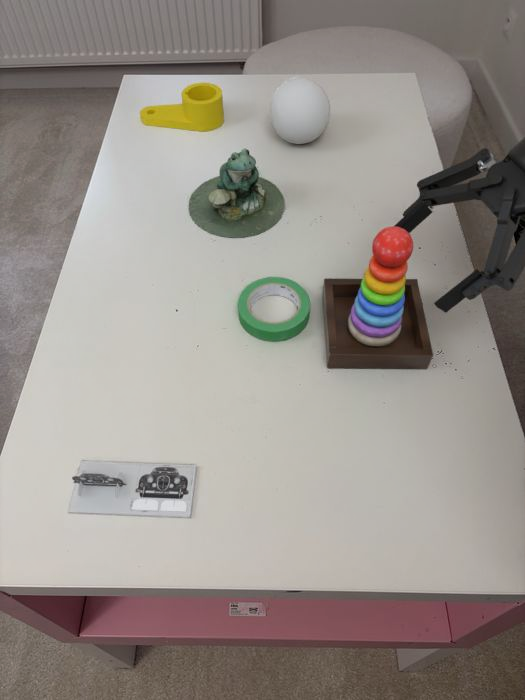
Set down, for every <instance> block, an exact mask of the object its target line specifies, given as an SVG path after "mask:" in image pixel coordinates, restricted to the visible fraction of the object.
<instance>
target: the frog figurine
mask: <svg viewBox="0 0 525 700" xmlns="http://www.w3.org/2000/svg"><path fill="white" fill-rule="evenodd" d="M256 164H257V161H256V158H255V157H254V156H252V155H251V154H250V150H249V149H247V148H246V147H245V148H242V149H241V150H240V152H237V151H234V152H232V153H231V154H230V157H229V158H227V161H226V162H225V163H223V164H221V166H220V168H219V175H217V176H215V177H213V178H210V179H208V180H207V181H203V183H201V184H200V185H198V187H196V189H195V190H194V191H193V192H192V193H191V195H190V197H189V199H188V213H189V216H190V218H191V219H192V221H193V222H194V224H196V225H197V227H199V228H200V229H202V230H203V231H205V232H207V233H209V234H212V235H215V236H218V237H221V238H222V237H223V238H229V239H241V238H249V237H253V236H257V235H259V234H262V233H264V232H266V231H268V230H269V229H271V228H272V227H274V226H275V225H276V224H277V223H278V222H279V221H280V220H281V218H282V216H283V214H284V213H285V212H284V211H285V207H286V202H285V198H284V194H283V193H282V192H281V190H280V189H279V188H278V187H277V186H276V185H275V184H274V183H273V182H271V181H270V180H268V179H266V178H265V177H262V176H260V171H259V170H258V167H257V166H256Z"/></svg>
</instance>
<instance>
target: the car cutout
mask: <svg viewBox="0 0 525 700" xmlns="http://www.w3.org/2000/svg"><path fill="white" fill-rule="evenodd" d="M79 462H80V463H79V466H78V471H77V473H76V474H77V475H74V476H72V477H71V479H72V480H73V484H74V486H73V490H72V494H71V498H70V502H69V505H68V509H67V513H68V514H74V515H75V514H77V515H99V516H100V515H101V516H102V515H104V516H125V517H126V516H127V517H149V518H150V517H151V518H171V519H172V518H173V519H174V518H176V519H191V518H192V511H193V510H192V509H193V501H194V494H195V486H196V478H197V469H198V466H197V464H179V463H178V464H177V463H152V462H150V463H149V462H124V461H120V462H119V461H98V460H80V461H79Z"/></svg>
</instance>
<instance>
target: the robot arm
mask: <svg viewBox="0 0 525 700" xmlns="http://www.w3.org/2000/svg"><path fill="white" fill-rule="evenodd" d="M482 173H485V174H486V175H485V177H481V178H476V179H472V178H474V177H476V176H479V175H480V174H482ZM469 179H472V180H469ZM467 180H469V181H468V182H466V183H461V182H464V181H467ZM459 183H461V184H459ZM416 187H417V188H418V192H419V196H418V198H417V199H416V200H415V201H414V202H412V203H411V205H410V206H409V207H408V208H406V209H405V210H404V211H403V213H402V216H403V217H402V218H401V219H400V220H399V221H397V222H396V223H395V224H394V225H393V226H396V227H400V228H403V229H405V230H406V231H407V232H408V233H409V234H410V233H411V232H412V231H413V230H415V229H416V228H417V227H418V226H419V225H421V223H423V222H424V221H425V220H426V219H427V218H429V216H430V215H432V214H433V209H434V207H437V206H443V205H448V204H449V205H450V204H455V203H460V202H468V201H473V200H476V201H481V202H482V203H483V204H484V205H485V206H486V207H487V208H488V209H489V210H490V212H491V213H492V214H493V215H494V216H495V217H496V218H497V219H496V224H497V225H496V228H495V232H494V235H493V238H492V242H491V245H490V249H489V250H488V251H489V252H488V255H487V259H486V261H485V266H484V269H483V270H479V269H478V268H476V269H475V270H473V271H472V272H471V273H470V274H468V275H467V276H466V277H464V278H463V280H461V281H460V282H458V283H457V284H456V285H454V287H452V288H451V289H449V291H447V292H446V293H444V295H442V296H441V297H439V299H437V300H436V301H434V302H433V304H434V306H435V307H436V308H437V309H439V310H440V311H441V312H443V313H448V312H449V311H451V310H452V309H453V308H454V307H456V306H457V305H458V304H459V303H461V302H462V301H464V300H465V299H467V300H468V301H471V300H474V299H476V298H477V297H478V296H480V295H481V294H482V293H484V292H485V291H486V290H487V289H489V288H490V287H492V286H497V287H499V288H500V289H503V290H505V291H508V292H509V291H511V290H513V288H514V286H515V285H516V283H517V282H518V280H519V278H520V276H521V274H522V273H523V271H524V269H525V229H524V230H523V231H522V233H521V235H520V237H519V238H518V240H517V242H516V244H515V245H514V247H513V249H512V250H511V252H510V254H509V251H510V248H511V244H512V241H513V238H514V234H515V232H516V231H517V230H518V226H519V223H520V220H521V217H525V136H524V137H523V138H522V139H521V140H520V141H519V142H517V143H516V144H515V145H514V146H513V147H512V148H511V149H509V151H508V153H507V154H506V156H505V157H504V158H503V159H502V160H499V161H496V158H495V157H494V155H493V154H492V152H491V151H490V150H489V149H488V148H486V147H483V148H481V149H480V150H479V151H478V152H476V153H475V154H474V155H473V156H471V157H470V158H468V159H465V160H463V161H461V162H459V163H456V164H454V165H452V166H450V167H447V168H445V169H442V170H440V171H438V172H436V173H434V174H432V175H429V176H426V177H425V178H422V179H420V180H418V181H417V183H416ZM508 254H509V255H508ZM507 257H508V258H507Z"/></svg>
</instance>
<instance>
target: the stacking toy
mask: <svg viewBox="0 0 525 700" xmlns="http://www.w3.org/2000/svg"><path fill="white" fill-rule="evenodd" d="M371 249H372V254H373V255H372V256H371V257H370V259H369V261H368V267H367V268H365V271H364V274H363V277H362V278H361V279H362V282H361V287H360V289H359V291H358V295H357V297H356V299H355V303H354V305H353V306H352V309H351V313H350V315H349V317H348V328H349V331H350V333H351V334H352V335H353V337H354V338H355V339H357V340H358V341H359V342H361V343H363V344H365V345H368V346H374V347H379V346H384V345H388V344H390V343H392V342H393V341H394V340H395V339H396V338H397V337H398V335H399V334H400V331H401V322H402V314H403V310H404V306H403V305H404V301H405V295H404V292H405V282H406V279H407V276H406V275H407V272H408V270H409V269H408V268H409V264H408V260H409V259H410V258H411V255H412V254H413V251H414V240H413V237H412V235H411V234H410V233H408V232H407V231H406V230H405V229H403V228H400V227H396V226H394V225H393V226H392V225H391V226H388V227H384V228H383V229H381V230H380V231H378V232H377V234H376V235H375V236H374V239H373V241H372V246H371Z"/></svg>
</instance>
